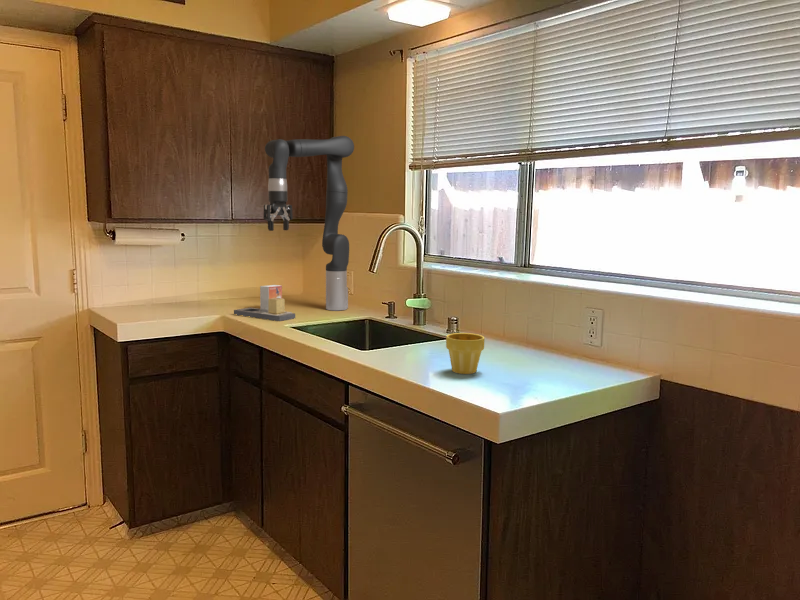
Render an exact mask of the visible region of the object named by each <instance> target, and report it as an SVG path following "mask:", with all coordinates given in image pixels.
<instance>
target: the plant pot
mask: <svg viewBox="0 0 800 600" xmlns="http://www.w3.org/2000/svg"><path fill="white" fill-rule="evenodd" d="M445 340H446V341H445V348H446V349H447V350H448V353H449V360H450V366H451V371H452V372H453V373H455V374H458V375H459V374H460V375H471V374H475V373H476V372H478V371H477V369H478V368H479V367H478V366H479V362H480V358H481V355H482V351H484V349H485V336H483V335H481V334H477V333H472V332H471V333H470V332H457V333H456V332H455V333H449V334H447V335H446V338H445Z"/></svg>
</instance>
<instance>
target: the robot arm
mask: <svg viewBox="0 0 800 600" xmlns="http://www.w3.org/2000/svg"><path fill="white" fill-rule="evenodd" d="M354 151H355V144H354V141H353V139H351V137H349V136H346V135H337V136H333V137H330V138H327V139H307V138H306V139H304V138H303V139H301V138H300V139H288V140H285V139H282V138H279V139H273V140H269V141H268V142H267V143H266V144H265V146H264V152H265V154H266V156H268V157H270V158H272V162H271V164H270V165H269V166H268V183H267V184H268V186H267V187H268V188H267V190H268V191H267V192H268V202H269V204H264V205H263V220H265V221H267V229H268V231H269V232H271V231H274V228H275V226H274V220H275V218H276V217H277V216H280V217H281V219H282V220H283V222H282V225H283V227H282V229H283V231H289V228H290V220H294V219H293V217H294V216H293V205H292V204H287V202H288V182H287V165H288V164H289V163H288V162H289V158H290V157H292V158H293V157H294V158H303V157H305V158H306V157H314V156H323V155H325V156H326V167H327V169H326V171H327V172H326V173H327V174H326V176H327V177H326V190H325V191H326V193H325V194H326V195H325V215H324V216H325V217H324V218H325V219H324V226H323V232H322V233H323V234H322V240H321V246H322V250H323V252H324V253H325V254H327V255H330V256H332V257H331V261H329V262H327V263H326V264H325V310H329V311H345V310H347V309H349V287H348V284H347V283H348V281H347V280H348V275H347V274H348V273H347V272H348V266H349V260H350V242H349V239H348V237H347V235H346V234H345V235H344V234H341V233H340V234H339V233H338V231H339V224H340V220H341V218H342V216H343V214H344V212H345V209H346V208H347V205H348V185H347V181H346V180H345V177H344V175H343V169H342V168H343V158H348V157H350V156H351V155H352V154H353V153H354Z"/></svg>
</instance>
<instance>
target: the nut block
mask: <svg viewBox="0 0 800 600" xmlns="http://www.w3.org/2000/svg"><path fill="white" fill-rule="evenodd" d="M285 303H286V302H285V298H283V297H282V298H271V299H268V311H269V313H271V314H281V313H285V311H286V310H285V309H286V308H285Z"/></svg>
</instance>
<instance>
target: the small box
mask: <svg viewBox="0 0 800 600" xmlns="http://www.w3.org/2000/svg"><path fill="white" fill-rule="evenodd" d="M259 289H260V294H259V296H260V298H259V299H260V300H259V301H260V302H259V303H260V306H259V307H260V308H259V309H265V310H268V299H271V298H283V285H282V284H281V285H279V284H271V285H269V284H268V285H260V286H259Z"/></svg>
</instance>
